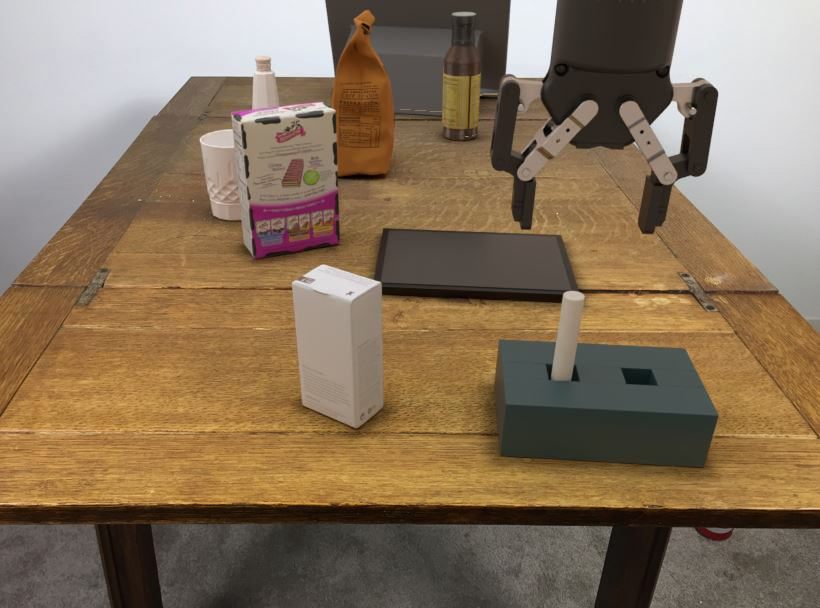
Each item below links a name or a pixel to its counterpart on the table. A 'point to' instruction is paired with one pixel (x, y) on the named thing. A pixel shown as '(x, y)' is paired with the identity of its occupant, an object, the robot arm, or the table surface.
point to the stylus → (567, 335)
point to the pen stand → (603, 405)
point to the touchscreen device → (423, 44)
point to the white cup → (221, 174)
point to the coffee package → (363, 106)
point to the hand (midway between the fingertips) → (584, 228)
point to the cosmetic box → (339, 343)
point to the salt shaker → (264, 85)
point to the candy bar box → (287, 178)
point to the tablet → (474, 265)
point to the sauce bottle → (461, 80)
